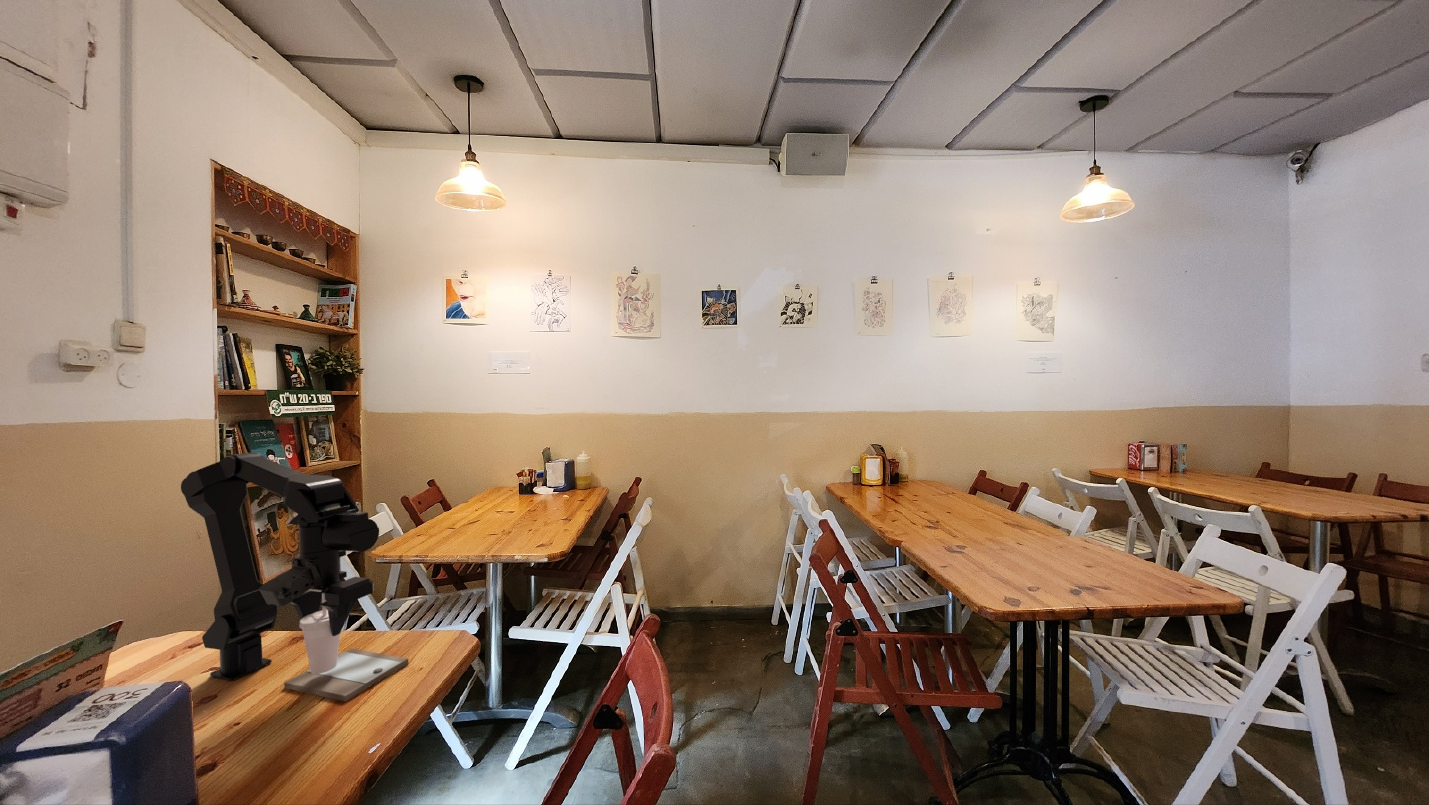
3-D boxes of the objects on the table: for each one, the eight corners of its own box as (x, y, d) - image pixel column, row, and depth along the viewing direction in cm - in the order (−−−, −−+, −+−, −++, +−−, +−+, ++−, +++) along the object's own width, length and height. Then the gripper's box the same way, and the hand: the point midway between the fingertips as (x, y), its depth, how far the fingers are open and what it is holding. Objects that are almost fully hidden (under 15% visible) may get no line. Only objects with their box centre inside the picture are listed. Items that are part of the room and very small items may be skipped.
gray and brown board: (284, 688, 87) (284, 680, 87) (351, 653, 98) (351, 647, 98) (345, 701, 82) (345, 694, 82) (408, 663, 94) (408, 657, 94)
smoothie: (320, 680, 85) (317, 601, 84) (291, 676, 86) (288, 598, 86) (354, 660, 91) (352, 586, 91) (327, 657, 92) (324, 584, 92)
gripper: (231, 558, 83) (234, 648, 83) (307, 568, 78) (311, 664, 78) (302, 539, 94) (305, 619, 94) (374, 547, 88) (377, 631, 89)
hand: (323, 632), depth 88 cm, fingers closed on smoothie, 6 cm apart
